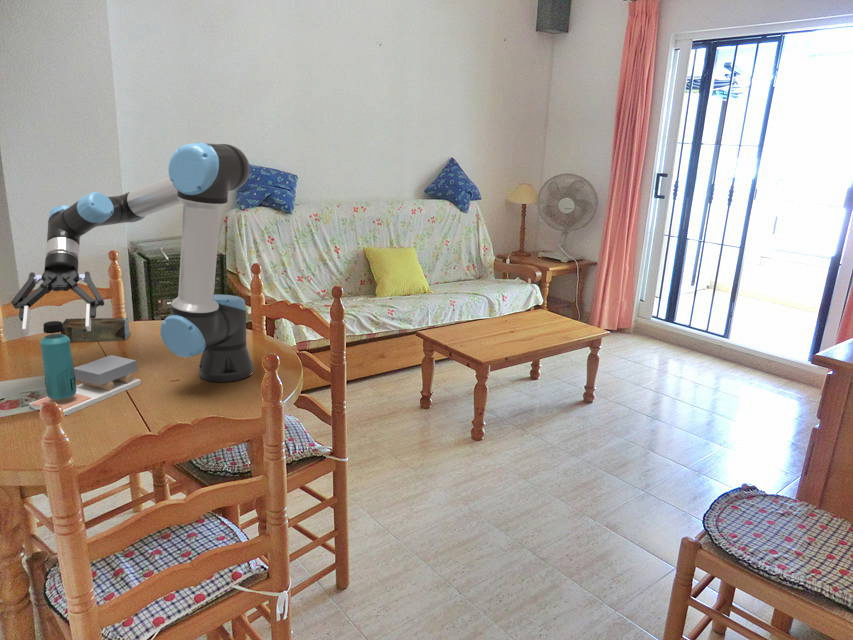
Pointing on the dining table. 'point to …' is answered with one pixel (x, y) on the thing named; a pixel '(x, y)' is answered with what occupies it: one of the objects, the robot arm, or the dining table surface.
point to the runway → (91, 394)
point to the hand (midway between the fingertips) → (57, 330)
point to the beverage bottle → (57, 362)
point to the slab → (105, 370)
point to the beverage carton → (96, 329)
